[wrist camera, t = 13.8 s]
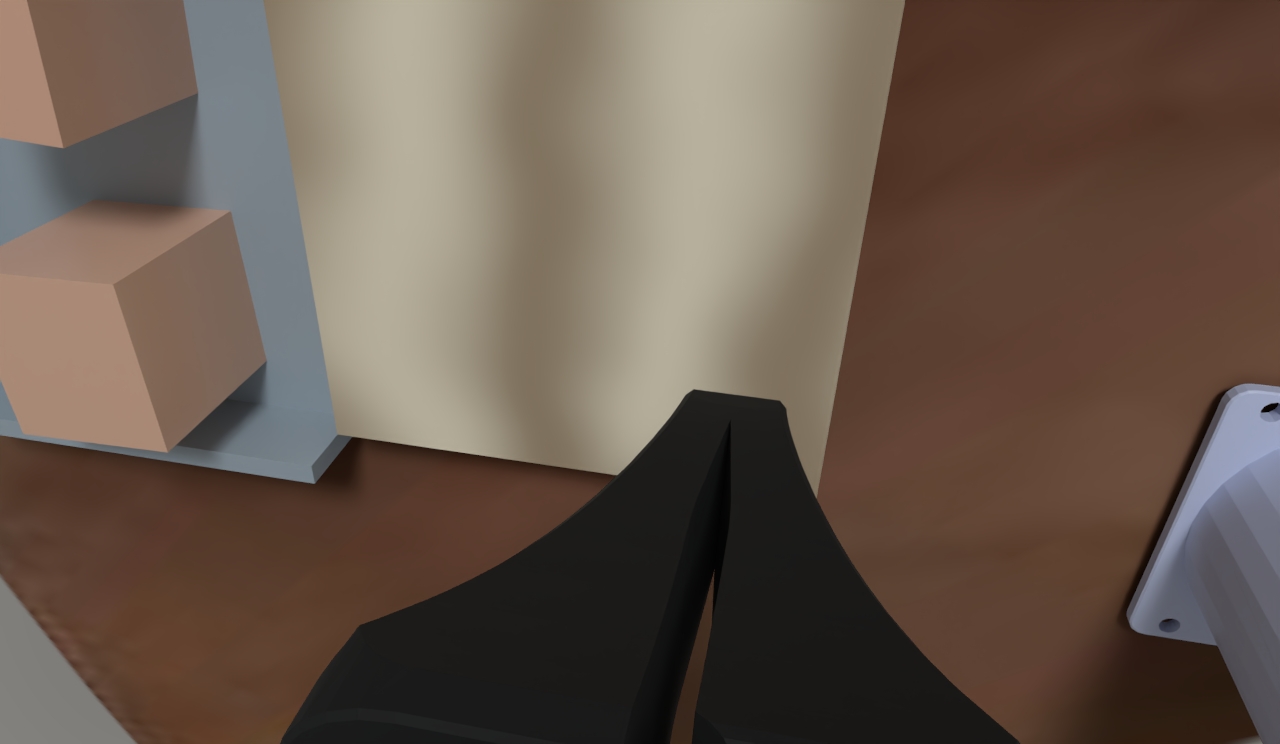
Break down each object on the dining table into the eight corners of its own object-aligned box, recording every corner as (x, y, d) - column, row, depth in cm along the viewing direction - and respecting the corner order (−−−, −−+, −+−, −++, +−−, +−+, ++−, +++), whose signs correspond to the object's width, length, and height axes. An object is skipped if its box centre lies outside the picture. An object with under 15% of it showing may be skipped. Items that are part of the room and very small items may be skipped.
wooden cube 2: (112, 284, 20) (-47, 269, 20) (167, 452, 22) (23, 434, 22) (230, 210, 23) (93, 199, 24) (266, 360, 26) (140, 346, 26)
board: (918, -129, 17) (927, -124, 16) (816, 458, 25) (815, 504, 23) (289, -159, 19) (236, -157, 17) (369, 395, 26) (337, 434, 25)
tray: (267, -216, 19) (177, -222, 16) (364, 422, 27) (314, 484, 24) (-225, -235, 20) (-377, -243, 18) (9, 371, 29) (-71, 424, 26)
